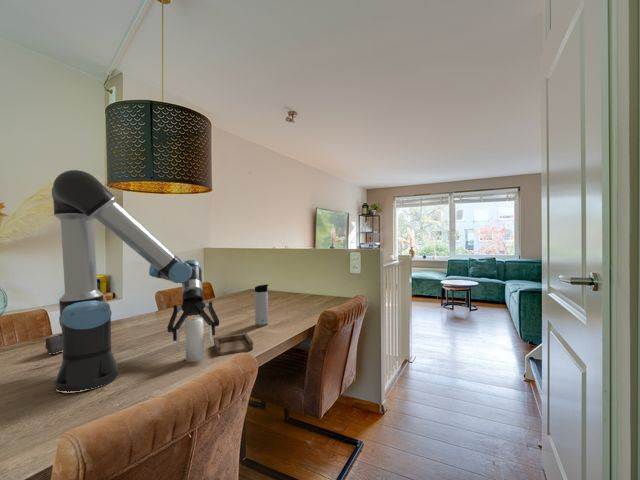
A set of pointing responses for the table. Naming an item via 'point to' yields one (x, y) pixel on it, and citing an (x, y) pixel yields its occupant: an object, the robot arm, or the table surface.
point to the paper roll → (194, 339)
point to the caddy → (232, 344)
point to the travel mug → (261, 305)
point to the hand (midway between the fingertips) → (195, 346)
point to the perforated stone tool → (54, 344)
